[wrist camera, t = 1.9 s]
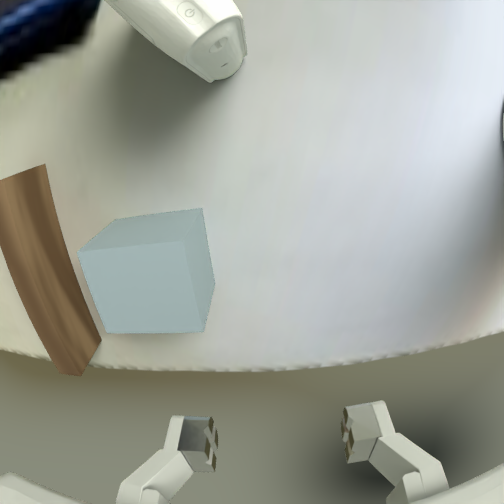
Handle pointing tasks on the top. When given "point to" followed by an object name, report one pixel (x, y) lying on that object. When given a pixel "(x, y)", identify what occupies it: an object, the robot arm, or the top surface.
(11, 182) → the stop board
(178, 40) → the photo printer
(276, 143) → the top surface
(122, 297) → the slate block
